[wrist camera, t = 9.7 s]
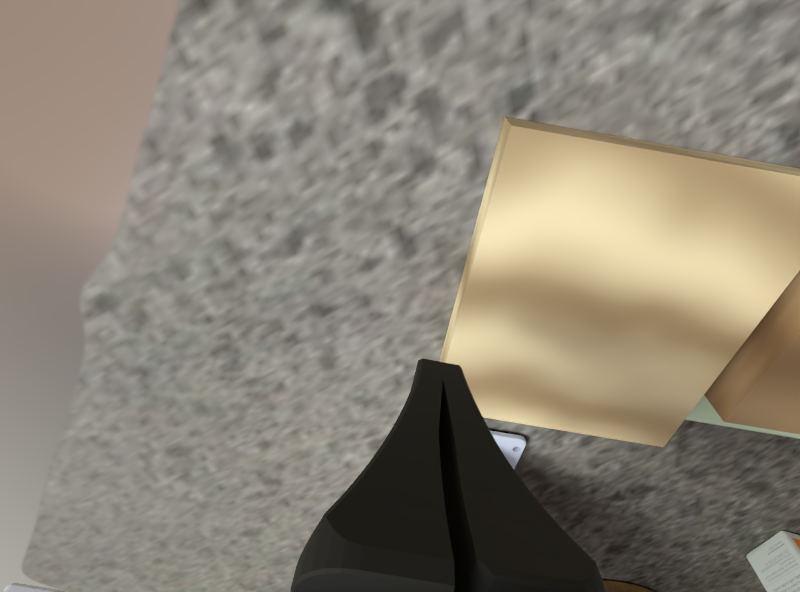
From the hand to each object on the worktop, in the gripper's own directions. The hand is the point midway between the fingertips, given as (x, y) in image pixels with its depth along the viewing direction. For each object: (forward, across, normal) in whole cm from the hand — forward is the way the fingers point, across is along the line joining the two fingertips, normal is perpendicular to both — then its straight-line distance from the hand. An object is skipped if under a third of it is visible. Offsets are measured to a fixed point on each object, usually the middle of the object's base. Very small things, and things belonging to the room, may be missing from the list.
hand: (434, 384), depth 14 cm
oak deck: (+9, -9, +1) cm, 13 cm away
